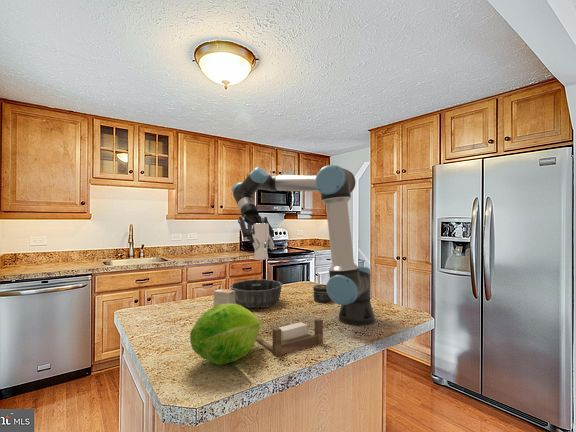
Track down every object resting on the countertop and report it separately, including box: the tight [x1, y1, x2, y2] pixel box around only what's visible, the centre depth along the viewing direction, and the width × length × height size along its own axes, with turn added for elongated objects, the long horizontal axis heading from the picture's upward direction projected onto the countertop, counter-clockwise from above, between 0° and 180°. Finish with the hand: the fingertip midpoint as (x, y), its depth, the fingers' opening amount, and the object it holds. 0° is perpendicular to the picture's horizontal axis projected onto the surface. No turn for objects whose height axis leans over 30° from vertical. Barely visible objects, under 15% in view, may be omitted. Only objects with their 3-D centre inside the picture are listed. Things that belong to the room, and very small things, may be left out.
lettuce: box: [189, 303, 263, 366], centre depth 97 cm, size 19×25×17 cm
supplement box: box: [213, 288, 236, 307], centre depth 133 cm, size 8×5×13 cm, turn 65°
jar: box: [312, 284, 332, 304], centre depth 166 cm, size 10×10×8 cm
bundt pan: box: [229, 278, 283, 309], centre depth 160 cm, size 26×26×10 cm
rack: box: [256, 318, 324, 357], centre depth 111 cm, size 21×18×9 cm
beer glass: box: [252, 222, 270, 261], centre depth 132 cm, size 7×7×15 cm
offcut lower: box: [281, 331, 311, 343], centre depth 106 cm, size 4×12×3 cm, turn 122°
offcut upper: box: [278, 321, 308, 340], centre depth 106 cm, size 4×10×3 cm, turn 125°
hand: (265, 247), depth 129 cm, fingers closed on beer glass, 7 cm apart
